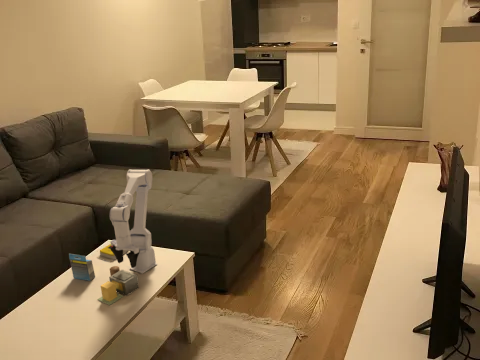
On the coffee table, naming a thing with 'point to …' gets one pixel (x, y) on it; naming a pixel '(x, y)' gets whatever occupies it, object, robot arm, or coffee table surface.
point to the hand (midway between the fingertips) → (127, 264)
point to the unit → (125, 282)
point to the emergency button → (108, 254)
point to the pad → (111, 300)
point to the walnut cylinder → (114, 270)
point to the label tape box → (81, 267)
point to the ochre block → (108, 291)
